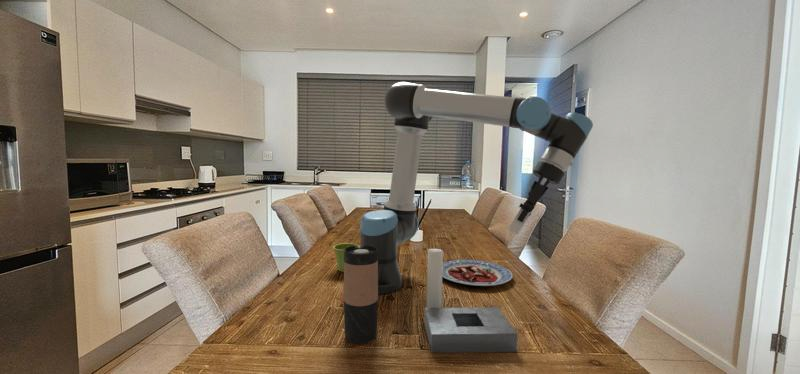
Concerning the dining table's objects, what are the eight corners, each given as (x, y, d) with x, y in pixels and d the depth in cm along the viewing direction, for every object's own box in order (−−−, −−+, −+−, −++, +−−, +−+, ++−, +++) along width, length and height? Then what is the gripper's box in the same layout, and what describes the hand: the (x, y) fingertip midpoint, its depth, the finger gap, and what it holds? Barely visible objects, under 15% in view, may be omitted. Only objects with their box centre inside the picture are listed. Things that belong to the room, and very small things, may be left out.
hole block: (431, 352, 66) (431, 334, 65) (424, 323, 78) (424, 307, 77) (516, 351, 66) (517, 333, 66) (496, 322, 78) (497, 307, 78)
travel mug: (363, 349, 67) (363, 256, 65) (336, 338, 71) (336, 250, 69) (384, 332, 73) (385, 248, 72) (358, 323, 77) (358, 243, 76)
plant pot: (349, 263, 122) (349, 241, 122) (364, 269, 116) (364, 246, 115) (328, 269, 116) (328, 246, 115) (343, 276, 109) (343, 251, 108)
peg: (424, 309, 85) (425, 251, 84) (430, 304, 88) (431, 247, 87) (438, 313, 83) (439, 253, 82) (443, 307, 86) (445, 250, 85)
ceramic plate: (455, 295, 95) (455, 285, 95) (426, 267, 120) (426, 260, 119) (529, 287, 102) (529, 278, 102) (486, 262, 127) (486, 255, 126)
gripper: (573, 164, 75) (527, 240, 76) (558, 179, 99) (523, 237, 100) (543, 150, 78) (499, 224, 79) (535, 168, 101) (501, 225, 102)
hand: (512, 231), depth 89 cm, fingers open, 13 cm apart
